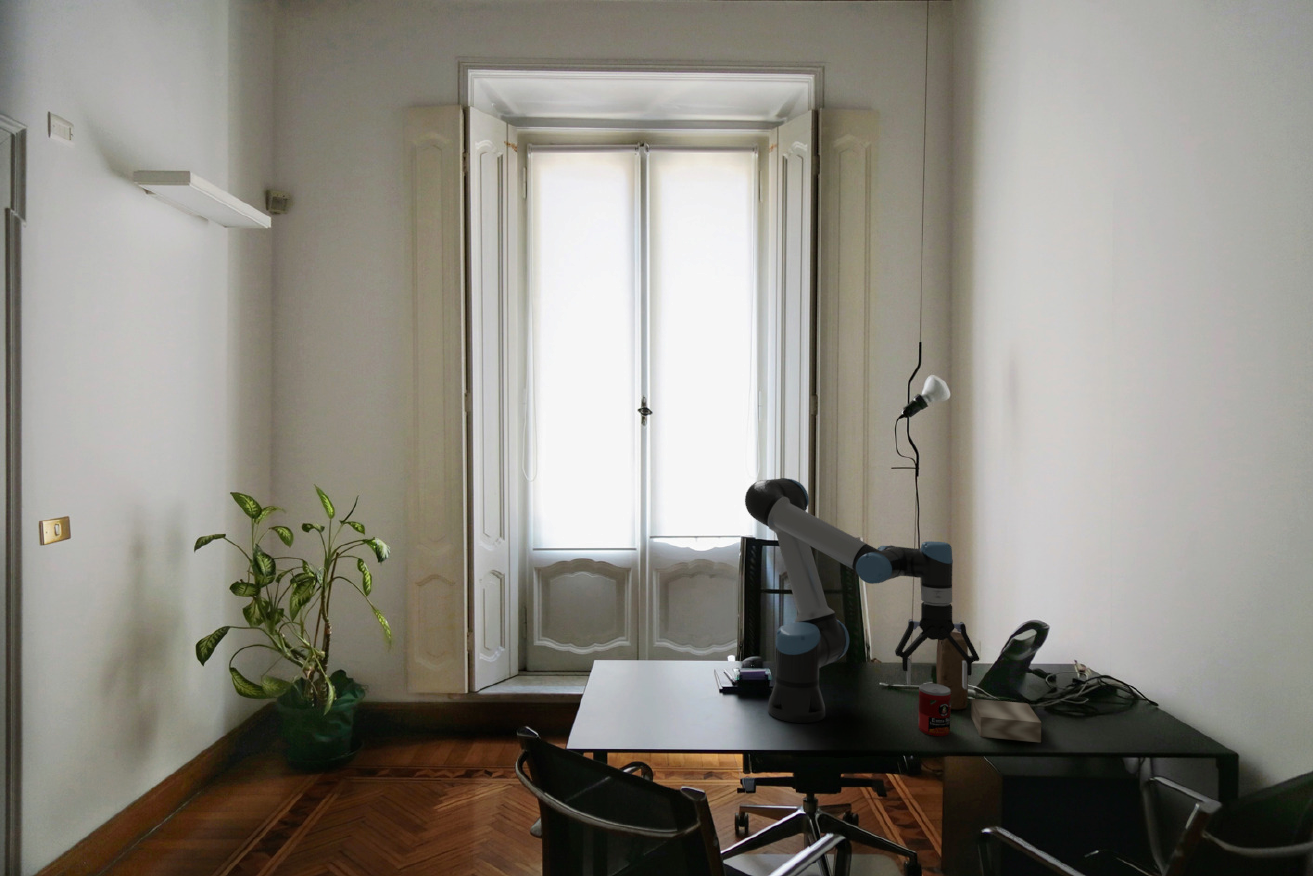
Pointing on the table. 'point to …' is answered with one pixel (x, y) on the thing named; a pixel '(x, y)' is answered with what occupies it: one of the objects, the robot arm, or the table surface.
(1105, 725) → the table surface
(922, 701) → the canned food
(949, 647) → the block
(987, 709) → the birch base block
